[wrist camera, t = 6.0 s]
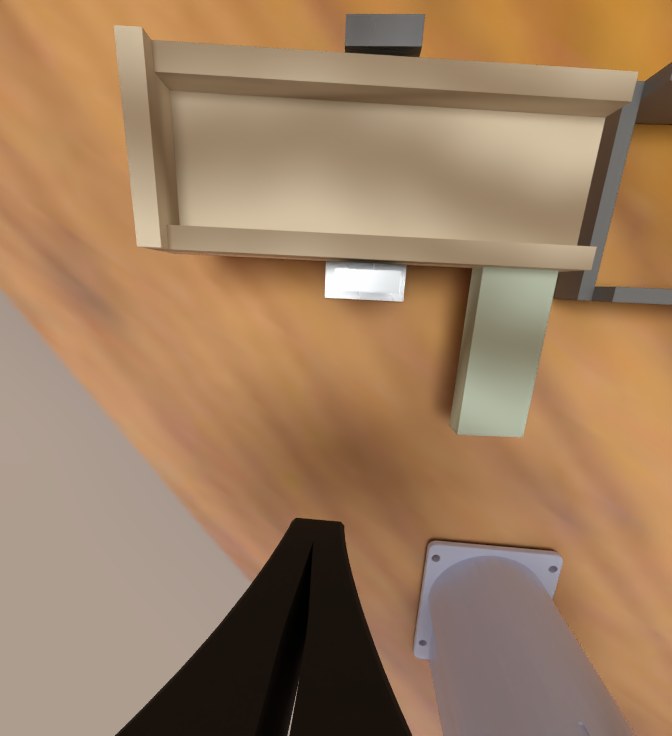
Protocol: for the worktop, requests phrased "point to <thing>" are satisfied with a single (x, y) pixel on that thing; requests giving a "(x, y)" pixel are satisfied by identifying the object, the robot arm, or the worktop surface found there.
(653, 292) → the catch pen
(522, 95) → the lever
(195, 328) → the worktop surface
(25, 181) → the worktop surface
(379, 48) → the pivot stand
